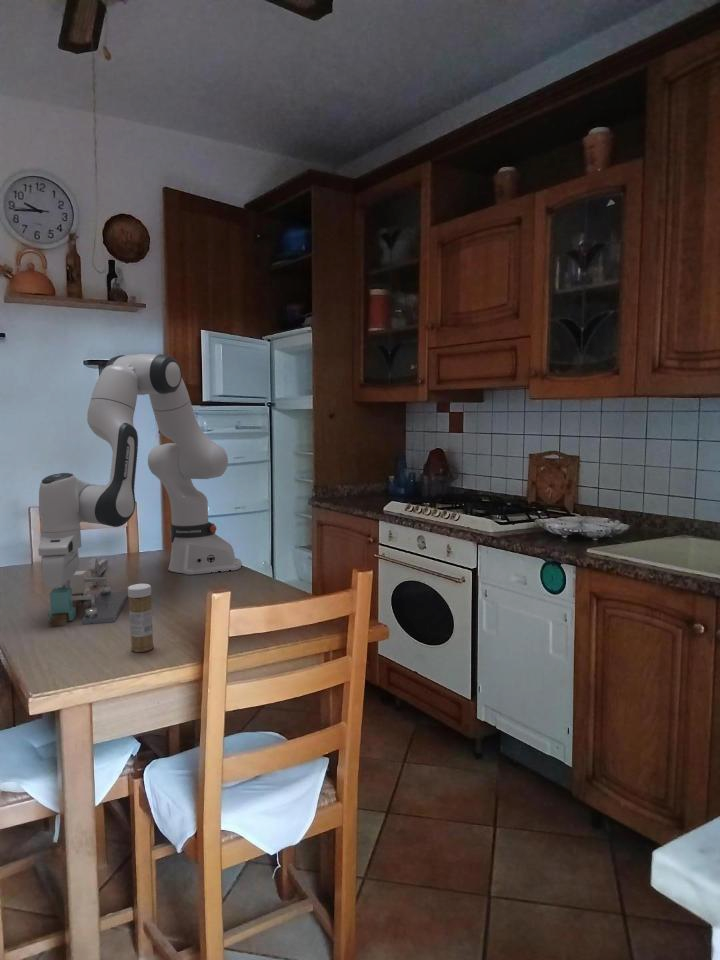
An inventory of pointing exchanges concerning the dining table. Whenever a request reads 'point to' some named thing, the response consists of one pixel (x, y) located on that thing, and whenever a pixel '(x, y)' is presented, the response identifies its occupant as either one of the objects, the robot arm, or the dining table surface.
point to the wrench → (97, 568)
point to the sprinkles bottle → (140, 617)
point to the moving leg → (65, 602)
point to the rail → (63, 617)
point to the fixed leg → (83, 582)
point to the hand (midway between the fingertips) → (64, 597)
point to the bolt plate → (105, 606)
